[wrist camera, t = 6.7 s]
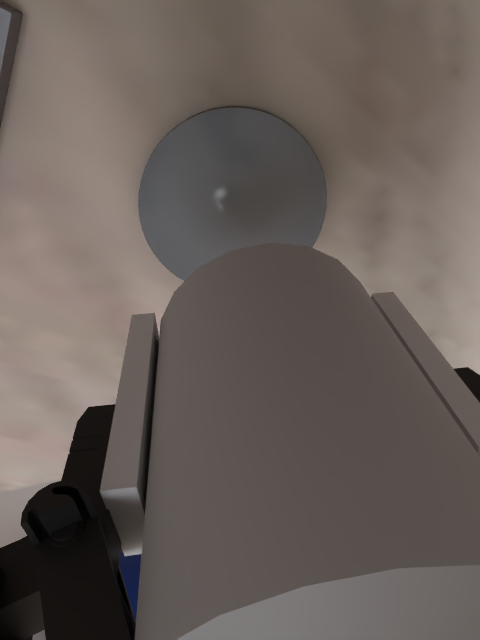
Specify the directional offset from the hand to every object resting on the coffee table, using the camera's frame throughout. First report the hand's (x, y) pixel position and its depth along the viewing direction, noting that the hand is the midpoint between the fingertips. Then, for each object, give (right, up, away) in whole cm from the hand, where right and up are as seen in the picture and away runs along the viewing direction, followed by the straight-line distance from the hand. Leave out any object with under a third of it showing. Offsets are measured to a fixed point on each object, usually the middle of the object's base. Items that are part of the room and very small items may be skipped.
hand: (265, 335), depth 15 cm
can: (0, 0, +1) cm, 1 cm away
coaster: (-1, +7, +10) cm, 13 cm away
